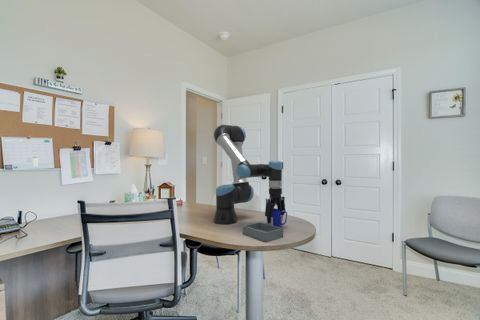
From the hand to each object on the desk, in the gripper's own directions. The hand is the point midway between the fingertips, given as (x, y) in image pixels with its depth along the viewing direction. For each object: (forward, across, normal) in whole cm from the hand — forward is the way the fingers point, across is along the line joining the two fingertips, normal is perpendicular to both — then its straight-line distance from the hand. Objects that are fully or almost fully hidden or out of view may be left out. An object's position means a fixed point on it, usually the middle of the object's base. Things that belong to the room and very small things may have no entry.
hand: (275, 227), depth 142 cm
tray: (0, -16, -5) cm, 16 cm away
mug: (0, +1, 0) cm, 1 cm away
